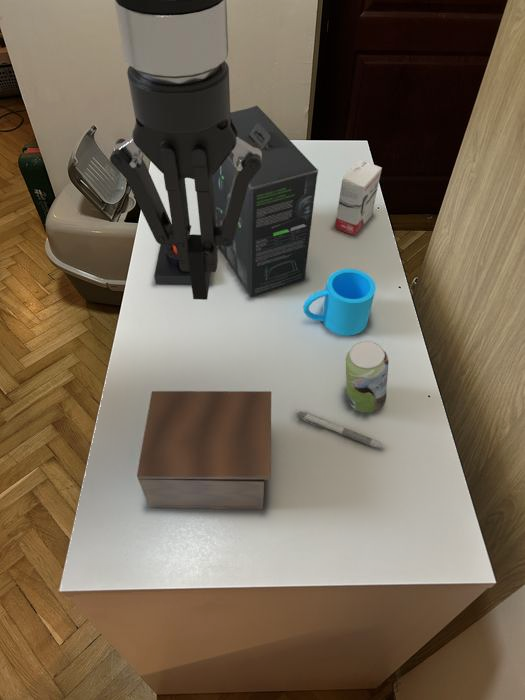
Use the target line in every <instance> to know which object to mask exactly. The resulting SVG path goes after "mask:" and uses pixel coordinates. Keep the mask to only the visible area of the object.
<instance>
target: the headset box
mask: <svg viewBox="0 0 525 700" xmlns="http://www.w3.org/2000/svg"><path fill="white" fill-rule="evenodd" d="M230 115H231V120H232V122H233V124H234V125H235V127H236V129H237V137H238V138H240V139H242V140H243V141H245V142H246V143H248V144H249V145H251V144H252V143H258V144H260V145H261V147H262V161H261V168H260V169H259V171H258V172H257V173H256V174H255V176H254V177H253V178H252V180H251V181H250V182H249V185H248V189H247V192H246V196H245V200H244V203H243V207H242V210H241V214H240V218H239V221H238V225H237V229H236V232H235V236H234V240H233V243H232V245H231V246H228V247H226V246H223V245H220V246H218V247H217V248H218V249H219V250H220V252H221V253H222V254H223V256H224V258H225V259H226V261H227V263H228V264H229V266H230V268H231V270H232V271H233V272H234V274H235V275H236V277H237V278H238V280H239V281H240V283H241V285H242V286H243V288H244V290H245V291H246V293H247V295H248V296H249V298H253V297H257V296H259V295H263V294H266V293H270V292H272V291H275V290H279V289H282V288H284V287H287V286H290V285H293V284H296V283H300V282H303V281H305V280H306V271H307V263H308V255H309V246H310V238H311V231H312V222H313V213H314V205H315V204H314V203H315V197H316V188H317V181H318V174H319V169H318V168H317V167H316V166H315V165H314V164H313V163H312V162H311V161H310V160H309V159H308V158H307V156H305V154H303V152H301V150H300V149H299V148H298V147H297V146H296V145H295V144H294V143H293V142H292V141H291V140H290V139H289V137H288V136H287V135H285V133H284V132H283V131H282V130H281V129H280V128H279V127H278V126H277V124H276V123H275V122H274V121H272V119H271V118H270V117H269V116H268V115H267V114H266V113H265V112H264V111H263V110H262V109H261V107H259V105H254V106H251V107H247V108H246V107H245V108H241V109H238V110H233V111H230ZM233 159H234V155H233V153H232V152H231V153H230V154H229V156H228V157H227V158H226V160H225V161H224V162H223V163H222V165H221V166H220V167H219V169H218V170H217V171H216V172H215V173H214V174H213V186H214V200H215V215H216V227H217V226H221V225H222V224H223V220H224V216H225V212H226V208H227V204H228V200H229V195H230V191H231V187H232V183H233V179H234V175H235V171H236V168H235V167H234V166H233Z"/></svg>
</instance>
